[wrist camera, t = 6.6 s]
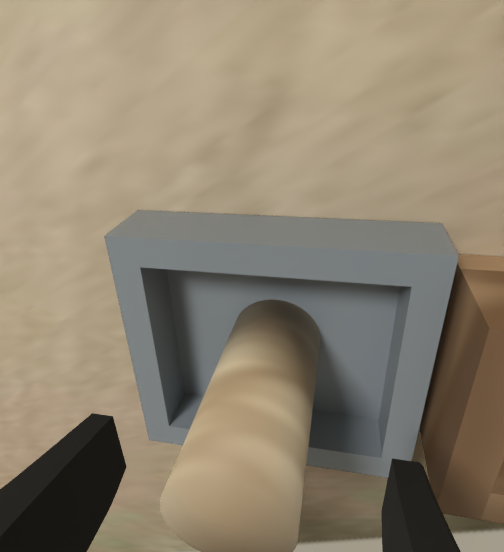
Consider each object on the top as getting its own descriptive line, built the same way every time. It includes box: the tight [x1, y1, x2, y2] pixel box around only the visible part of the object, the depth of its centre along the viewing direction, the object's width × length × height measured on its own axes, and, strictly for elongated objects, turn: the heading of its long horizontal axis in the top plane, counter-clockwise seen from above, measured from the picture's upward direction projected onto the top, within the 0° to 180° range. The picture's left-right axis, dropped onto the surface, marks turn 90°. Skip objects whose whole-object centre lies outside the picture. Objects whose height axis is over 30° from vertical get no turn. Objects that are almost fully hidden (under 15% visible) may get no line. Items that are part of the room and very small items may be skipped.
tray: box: [104, 210, 459, 478], centre depth 15 cm, size 10×9×2 cm
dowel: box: [160, 299, 320, 552], centre depth 12 cm, size 3×3×7 cm
